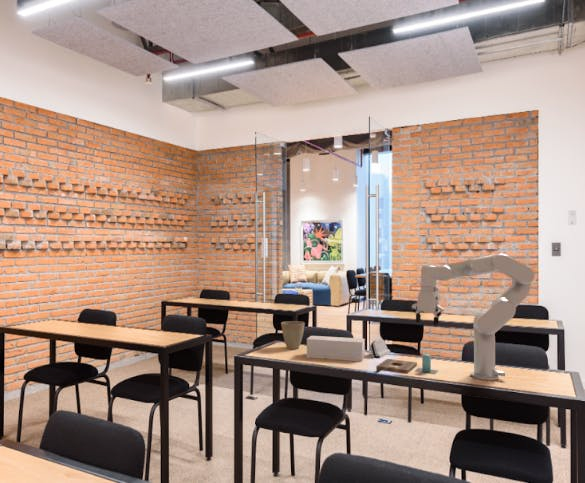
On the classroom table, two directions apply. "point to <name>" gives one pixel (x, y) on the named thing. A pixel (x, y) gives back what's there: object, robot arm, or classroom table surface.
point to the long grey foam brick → (336, 348)
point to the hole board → (396, 366)
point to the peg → (426, 363)
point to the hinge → (379, 348)
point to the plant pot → (292, 333)
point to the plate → (426, 372)
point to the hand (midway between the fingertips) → (426, 323)
